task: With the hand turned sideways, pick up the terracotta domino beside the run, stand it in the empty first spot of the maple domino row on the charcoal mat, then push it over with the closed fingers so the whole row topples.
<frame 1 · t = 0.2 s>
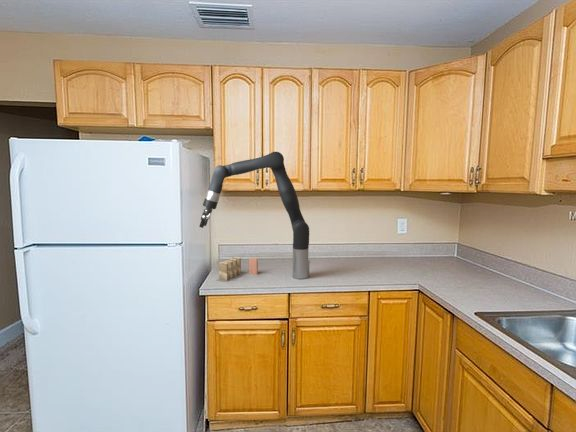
hand: (202, 226, 189), 30 cm above the worktop, tool tilted 20°, fingers open, 8 cm apart
maple domino 5: (223, 280, 187), resting on mat
terracotta domino: (253, 274, 200), on the worktop
maple domino 3: (232, 267, 195), on the mat
maple domino 4: (228, 278, 191), resting on mat
maple domino 2: (236, 274, 200), resting on mat
mat: (232, 276, 196), on the worktop
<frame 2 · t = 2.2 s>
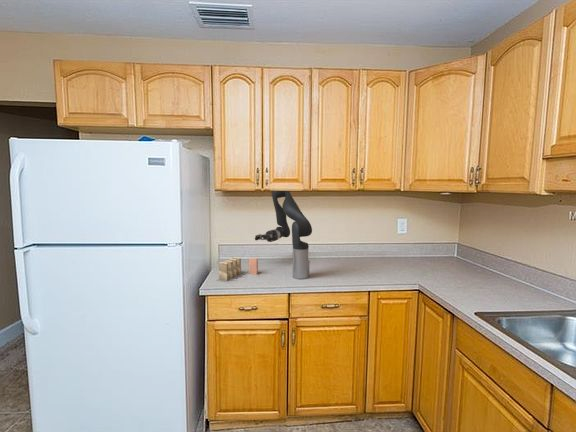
hand: (261, 239, 208), 20 cm above the worktop, tool horizontal, fingers open, 8 cm apart
nothing on the worktop moved.
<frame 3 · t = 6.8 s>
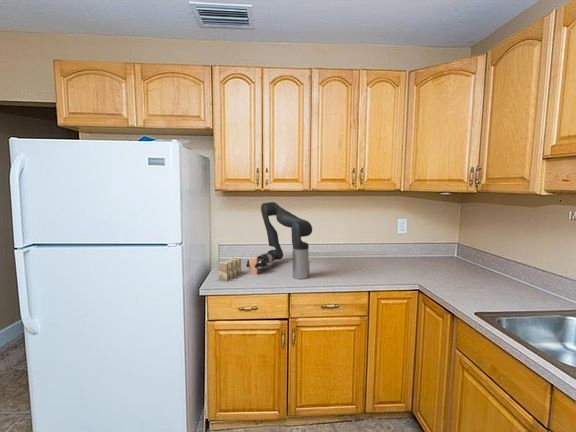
hand: (251, 265, 197), 6 cm above the worktop, tool horizontal, fingers closed on terracotta domino, 5 cm apart
terracotta domino: (253, 274, 200), on the worktop, touching gripper
everything else where it was.
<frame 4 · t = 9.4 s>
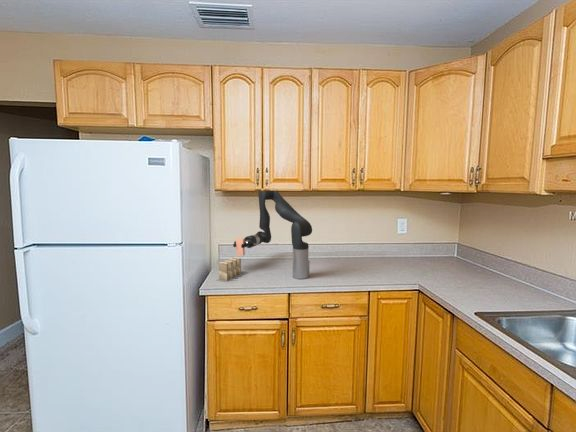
hand: (237, 245, 200), 17 cm above the worktop, tool horizontal, fingers closed on terracotta domino, 5 cm apart
terracotta domino: (240, 254, 203), point 11 cm above the worktop, touching gripper
everything else where it was.
when the fingers open (7 cm above the worktop, at t = 12.1 s): terracotta domino stays where it is, resting on mat.
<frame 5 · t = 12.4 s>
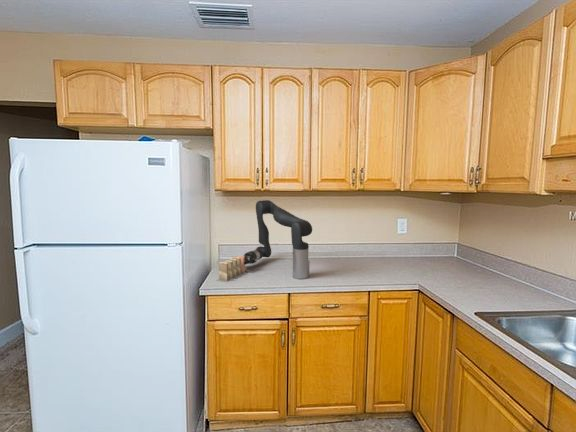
hand: (238, 262, 201), 7 cm above the worktop, tool horizontal, fingers open, 8 cm apart
terracotta domino: (240, 272, 204), resting on mat
everything else where it was.
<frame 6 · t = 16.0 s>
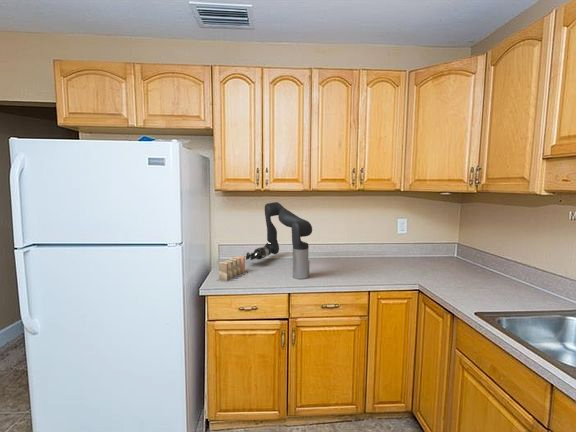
hand: (248, 258, 212), 7 cm above the worktop, tool horizontal, fingers open, 3 cm apart
nothing on the worktop moved.
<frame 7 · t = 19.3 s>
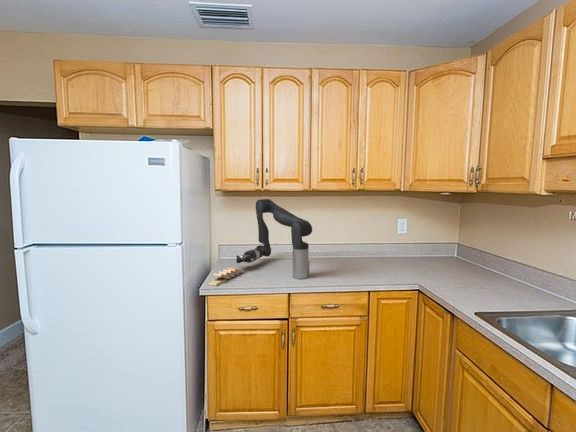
hand: (237, 261, 200), 8 cm above the worktop, tool horizontal, fingers closed
maple domino 5: (222, 279, 186), point 1 cm above the worktop, tilted 93°, touching maple domino 4, mat
terracotta domino: (239, 271, 203), point 1 cm above the worktop, tilted 69°, touching maple domino 2, mat
maple domino 3: (227, 274, 190), on the mat, tilted 69°, touching maple domino 2, maple domino 4
maple domino 4: (226, 277, 190), point 2 cm above the worktop, tilted 69°, touching maple domino 3, maple domino 5
maple domino 2: (235, 273, 199), point 1 cm above the worktop, tilted 69°, touching maple domino 3, mat, terracotta domino
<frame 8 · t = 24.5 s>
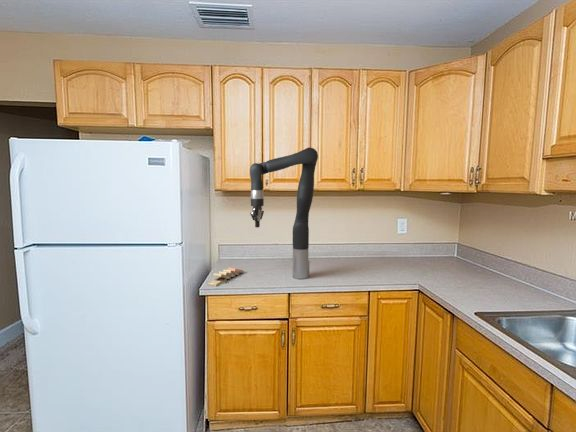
hand: (257, 227, 196), 29 cm above the worktop, tool pointing down, fingers closed
nothing on the worktop moved.
at the end: maple domino 5 tilted 93°; terracotta domino tilted 69°; terracotta domino inside the target area (0.3 cm from its centre), point 1.2 cm above the worktop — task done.
